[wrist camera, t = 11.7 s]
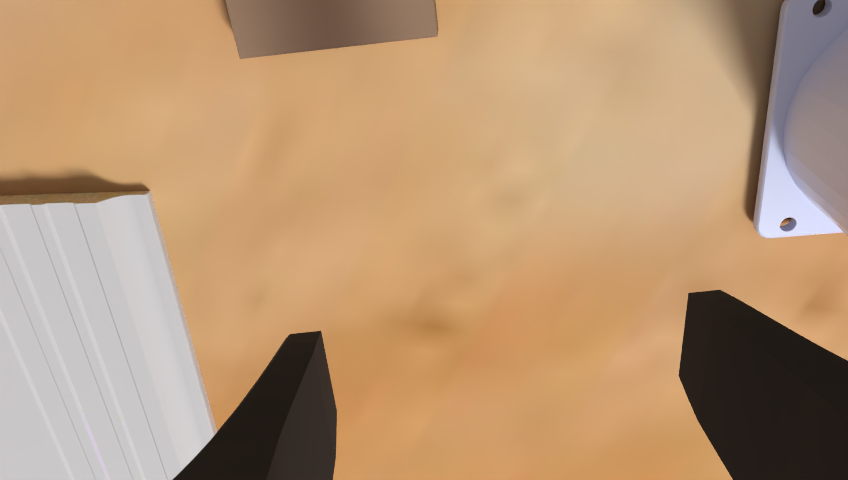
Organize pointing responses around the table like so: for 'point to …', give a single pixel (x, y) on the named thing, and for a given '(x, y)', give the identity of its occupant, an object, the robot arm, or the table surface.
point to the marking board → (326, 24)
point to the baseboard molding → (94, 343)
